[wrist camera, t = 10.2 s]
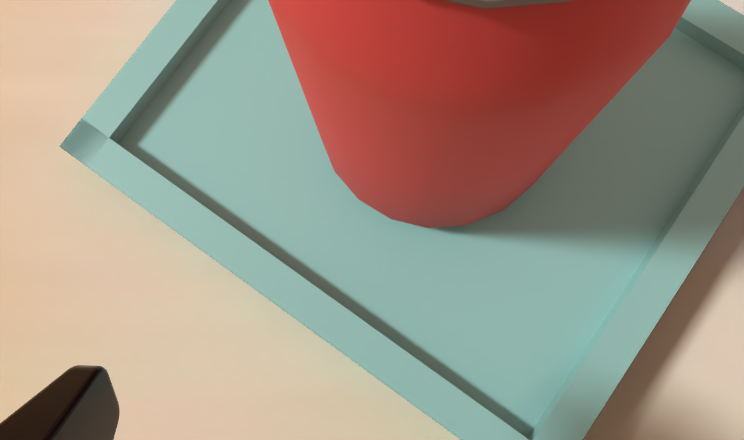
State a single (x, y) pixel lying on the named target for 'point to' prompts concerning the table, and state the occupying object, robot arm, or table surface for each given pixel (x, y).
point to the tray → (442, 244)
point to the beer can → (461, 91)
